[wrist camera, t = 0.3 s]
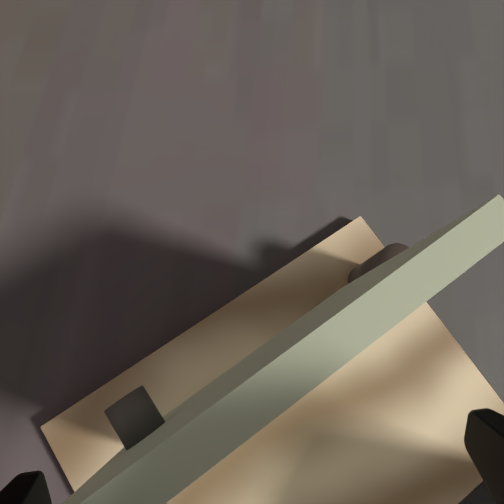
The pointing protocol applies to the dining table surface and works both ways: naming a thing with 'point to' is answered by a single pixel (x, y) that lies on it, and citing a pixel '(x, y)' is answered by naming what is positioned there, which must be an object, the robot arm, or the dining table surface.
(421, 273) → the door
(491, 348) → the dining table surface
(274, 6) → the dining table surface
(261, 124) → the dining table surface
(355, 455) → the door stand
